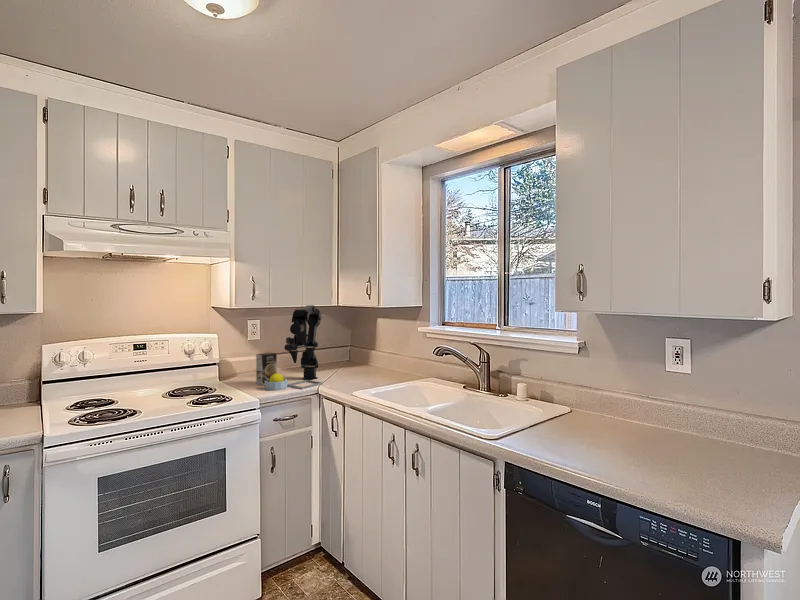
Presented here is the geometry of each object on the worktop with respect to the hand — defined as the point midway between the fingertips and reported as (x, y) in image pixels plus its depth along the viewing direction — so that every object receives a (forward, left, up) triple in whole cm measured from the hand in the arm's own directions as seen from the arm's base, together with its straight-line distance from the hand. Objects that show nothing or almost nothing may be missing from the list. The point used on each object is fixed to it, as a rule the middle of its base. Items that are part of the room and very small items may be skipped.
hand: (301, 361), depth 246 cm
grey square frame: (+1, +3, -12) cm, 12 cm away
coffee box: (+9, -18, -12) cm, 23 cm away
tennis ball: (+14, -4, -12) cm, 18 cm away
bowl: (+14, -4, -12) cm, 19 cm away
